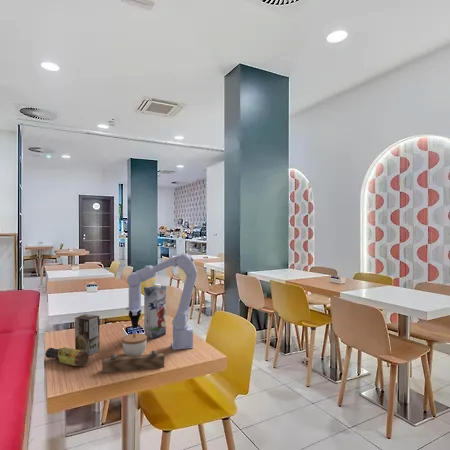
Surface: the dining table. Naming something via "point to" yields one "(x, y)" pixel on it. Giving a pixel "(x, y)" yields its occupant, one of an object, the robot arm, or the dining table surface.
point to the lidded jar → (134, 344)
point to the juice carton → (155, 311)
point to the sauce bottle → (68, 356)
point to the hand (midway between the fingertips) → (135, 326)
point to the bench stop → (132, 362)
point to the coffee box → (87, 333)
